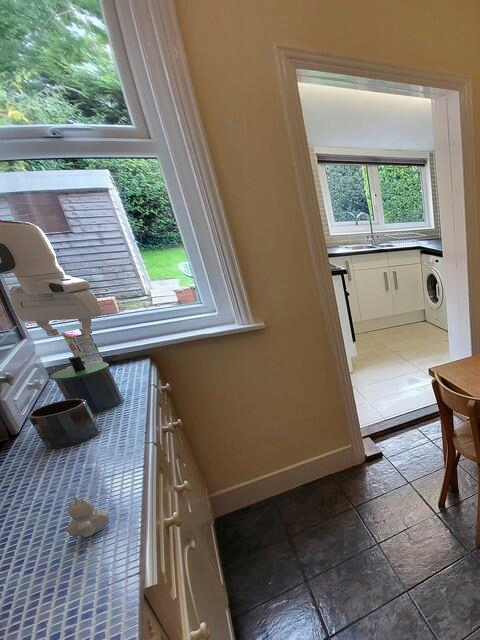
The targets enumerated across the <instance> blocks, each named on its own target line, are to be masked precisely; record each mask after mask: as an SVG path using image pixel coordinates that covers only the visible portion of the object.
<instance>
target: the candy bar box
mask: <svg viewBox="0 0 480 640" xmlns="http://www.w3.org/2000/svg"><path fill="white" fill-rule="evenodd" d="M79 329H80V328H78V329H72V330H68V331H63V332H61V335H62V337H63V338H64V340H65V342H66V344H67V346H68V348H69V350H70V352H71V353H72V356H80V358H81V360H82V359H86V360H85V361H86V362H87V363H91V362H96V361H100V360H101V361H104V362H105V359H104V358H103V356H102V355H101V353H100V351H99V348H98V346H97V344H96V343H95V341H94V339H93V336H92V333H91V334H88V335H83V334H81V332H80V330H79Z"/></svg>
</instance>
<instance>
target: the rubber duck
mask: <svg viewBox="0 0 480 640" xmlns="http://www.w3.org/2000/svg"><path fill="white" fill-rule="evenodd" d="M67 513H68V515H69V516H70V518H71V520H70V521H69V522H68V523H67V525H66V533H68V535H69V536H72V537H73V538H75V537H82V538H87V537H91V536H93V535H94V534H96V533H98V532H100V531H102V530H103V529H105V528H106V526H108V525H109V523H110V514H109V513H108V512H107V511H106V510H102V509H100V508H95V506H94V504H93V503H92V502H91V501H90V500H86V499H84V498H80V500H79V498H78V497H76V496H75V495H73V502H69V504H68V509H67Z"/></svg>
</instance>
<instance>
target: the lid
mask: <svg viewBox="0 0 480 640" xmlns="http://www.w3.org/2000/svg"><path fill="white" fill-rule="evenodd" d="M67 358H68V361H69V363H70V366H71V365H72V367H70V366H68V367H69V368H67V367H65V368H63V369H60V370H58V371H55V372H54V373H52V374H50V379H51V380H54V381H55V380H67V379H74V378H79V377H83V376H87V375H91V374H94V373H97V372H100V371H103V370H105V369H106V368H109V367H110V365H109V363H108V362H105V361H104V362H95V363H88V364H83V362H82V360H81V358H80V356H74V355H72V356H69V357H67Z"/></svg>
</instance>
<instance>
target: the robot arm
mask: <svg viewBox="0 0 480 640" xmlns="http://www.w3.org/2000/svg"><path fill="white" fill-rule="evenodd" d="M9 274H13V275H14V276H15V278H16V280H17V282H18V284H19V286H18V285H15V286H12V287H11V288H10V289H9V290H8V291H9V292H8V293H9V296H10V302H11V305H12V307H13V310H14V312H15V314H16V317H17V318H18V319H19V320H20V321H22V322H35V324H36V325H37V326H38V327H39V328H41V329H42V330H43V331H44V332H45V333H46V335H47V336H48V337H55V336H59V334H60V333H59V329H57V327H56V328H54V327H53V326H52V325H51V324H50V321H62V320H63V321H66V320H77V321H78V323H80V324H81V327H80V328H78V329H79V330H80V332H81V334H83V335H88V334H91V335H92V334H93V330H92V328H91V326H92V319H95V318H98V317H101V316H102V314H103V309H102V307H101V304H100V303H99V301H98V298H97V296H96V295H95V293H94V292H92V290H90V288H91V285H90V282H88V280H85V279H81V278H77V277H74V276H70V275H66V274H65V271H64V270H63V267H61V266H60V265H59V263H58V261H57V255H56V253H55V251H54V249H53V247H52V244H51V242H50V241H49V239H48V238H47V235H46V234H45V233H44V232H43V230H42V229H41V228H40V227H39V226H38V225H36V224H34V223H31V222H29V221H25V220H24V221H23V220H14V219H13V220H12V219H0V276H1V275H9Z"/></svg>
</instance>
